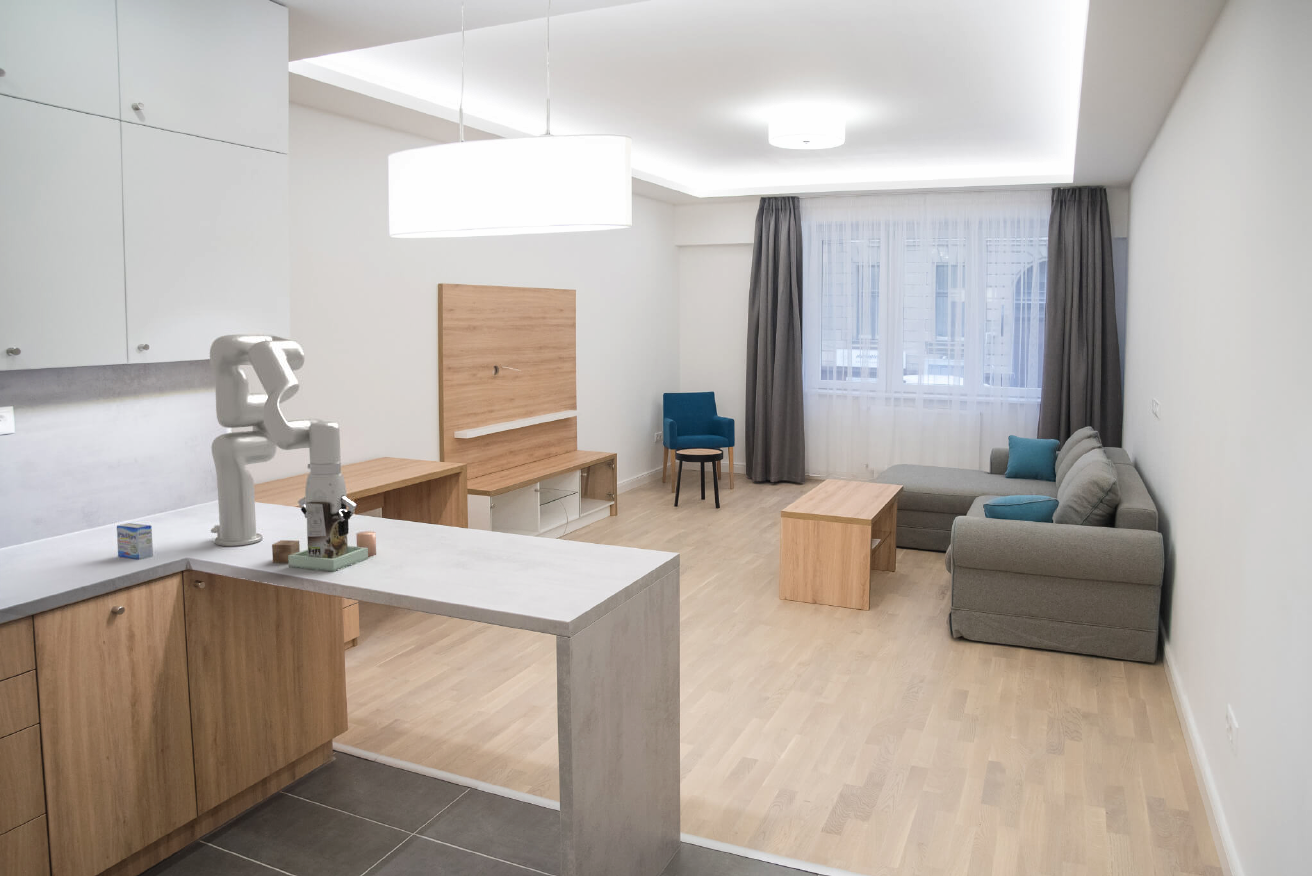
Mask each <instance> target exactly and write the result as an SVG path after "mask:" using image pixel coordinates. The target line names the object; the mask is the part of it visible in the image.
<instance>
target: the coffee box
mask: <svg viewBox="0 0 1312 876" xmlns="http://www.w3.org/2000/svg"><path fill="white" fill-rule="evenodd" d="M306 505H307V518H306V532H307V536H306V537H307V538H306V539H307V549H308V556H309V557H319V558H329V559H334V558H337V557H340V556H342V555H345V554H348V546H349V545H348V534H347V535H344V536H339V532H338V521H340V519H339V518H338V516H337V515H336V513H335V514H331V513H330V503H325V502H309V503H306Z"/></svg>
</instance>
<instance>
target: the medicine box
mask: <svg viewBox="0 0 1312 876" xmlns="http://www.w3.org/2000/svg"><path fill="white" fill-rule="evenodd" d="M152 530H153V527H152V525H149V524H140V523H133V522H131V523H130V522H129V523H122V524H118V525H116V541H117V544H116V545H117V556H118V557H119V558H123V559H125V558H126V559H131V560H132V559H133V560H142V559H143V560H144V559H147V558H150V557H153V556H154V550H153V549H154V547H153V545H154V544H153V531H152Z"/></svg>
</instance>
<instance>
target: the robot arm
mask: <svg viewBox="0 0 1312 876" xmlns="http://www.w3.org/2000/svg"><path fill="white" fill-rule="evenodd" d="M302 348H303V347H301V346H300V345H299V344H298V343H297V342H296V341H295V340H291V339H288V338H285V337H281V336H276V335H273V334H227V335H226V334H225V335H222V336H219V337H217V338H216V339H214V340H213V341H212V343H211V346H210V349H209V362H210V365H211V368H212V372H213V376H214V383H215V384H214V385H215V411H216V412H215V413H216V419H217V422H218V424H219V425H220V426H222V427H224V428H227V429H233V428H234V429H235V428H249V427H252V430H248V431H247V430H246V431H235V432H234V431H233V432H228V433H223V434H220V435H218V436H217V437H215V438H214V439H213V440H212V442H211V447H210V448H211V455H212V459H213V463H214V467H215V472H216V474H215V475H216V486H217V501H218V514H219V515H218V517H219V518H218V519H219V524H218V525H217V524H215V525H214V527H211V529H210V532H211V533H212V534H217V535H216V537H215V538H214V542H213V543H214V544H215V545H217V546H225V547H236V546H245V545H251V544H252V545H253V544H256V543H259V542H261V541H262V540H263V535H262V534H261V533H257V523H256V521H257V520H256V502H255V501H256V500H255V498H256V497H255V482H254V478H253V476H252V474H251V472H250V471H249V470H248V469H247V467H246V465H251V464H260V463H266V462H269V461H271V460H273V459H274V457H275V456H276V453H277V447H278V448H279V449H281V450H285V451H290V450H299V449H309V463H308V464H307V466H306V467H307V469H309V473H308V474H307V477H306V483H305V493H304V494H305V495H304V497H302V498H300V499H299V500H298V501H297V503H298V506H299V507H300V511H301V513H303V515H304V518H305V519H307V505H306V503H309V502H325V503H330V513H331V514H335V513H336V515H337V516H338V518H339V519H340V521H338V532H339V536H344V535H347V536H348V535H349V520H350V519H351V517H352V516H353V514H354V513H355V510H356V507H357V504H356V503H355V502H354V501H352V500H351V499H349V498H347V488H346V483H345V482H346V481H345V478H344V475H343V473H342V466H341V465H342V462H341V461H342V460H341V437H340V436H341V435H340V431H341V430H340V426H339V424H338V423H337V422H336V421H325V420H323V419H318V418H306V419H294V420H286V419H285V417H284V415H283V413H282V411H281V409H280V405H281V404H282V403H284V402H286V401H288V400H290V399H291V398H293V397H294V396H295V395H296V394H297V393H298V391H299V389H300V383H299V381H298V379H297V377H296V375H295V374H294V372H293V371H298V370H300V369H301V368H303V366H304V363H305V353H304V351H303V349H302ZM241 366H251V367H252V368H253V370H254V372H255V374H256V376H257V378H258V380H259V382H260V384H261V385H262V388H263V389H264V391H265V393H261V392H252V393H250V392H249V379H248V375H247V374H246V373H245V371H244V369H243V368H242V367H241Z"/></svg>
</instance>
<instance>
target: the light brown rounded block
mask: <svg viewBox="0 0 1312 876" xmlns="http://www.w3.org/2000/svg"><path fill="white" fill-rule="evenodd" d="M376 539H377V537H376V532H375V531H371V530H370V531H369V530H367V531H360V532H357V533H356V547H365V548H368V558H370V556H371V557H374V556H373V555H375V556H376V555H377V540H376Z"/></svg>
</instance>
